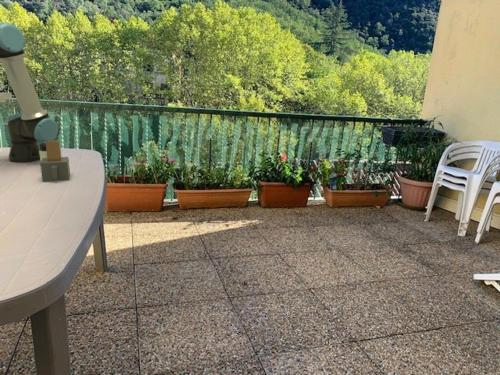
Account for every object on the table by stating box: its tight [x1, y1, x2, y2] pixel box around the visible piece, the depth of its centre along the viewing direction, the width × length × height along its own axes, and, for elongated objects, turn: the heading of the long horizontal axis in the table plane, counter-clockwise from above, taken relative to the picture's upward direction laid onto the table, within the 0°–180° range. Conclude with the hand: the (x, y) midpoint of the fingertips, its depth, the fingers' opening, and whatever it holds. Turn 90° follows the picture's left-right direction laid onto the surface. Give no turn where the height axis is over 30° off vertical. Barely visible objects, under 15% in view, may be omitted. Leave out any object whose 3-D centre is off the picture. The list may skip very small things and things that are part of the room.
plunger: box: [44, 139, 62, 161], centre depth 164 cm, size 4×5×14 cm
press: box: [39, 156, 71, 183], centre depth 164 cm, size 13×10×8 cm
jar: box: [39, 142, 63, 162], centre depth 178 cm, size 9×8×12 cm
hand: (8, 97), depth 152 cm, fingers open, 13 cm apart
